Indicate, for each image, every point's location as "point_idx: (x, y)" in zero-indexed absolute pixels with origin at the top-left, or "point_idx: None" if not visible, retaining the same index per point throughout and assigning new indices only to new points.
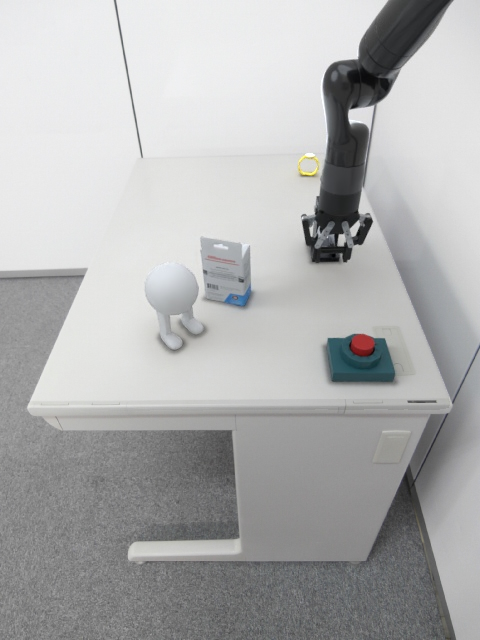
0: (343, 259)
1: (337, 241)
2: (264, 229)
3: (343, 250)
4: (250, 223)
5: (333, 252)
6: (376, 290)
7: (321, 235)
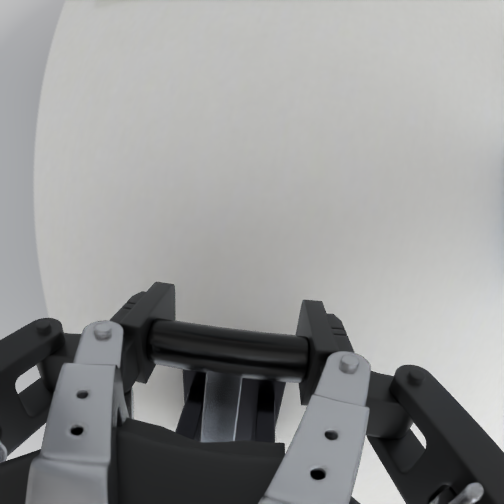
0: (171, 301)
1: (181, 418)
2: (365, 472)
3: (159, 329)
4: (384, 482)
5: (224, 329)
6: (90, 168)
7: (363, 432)
